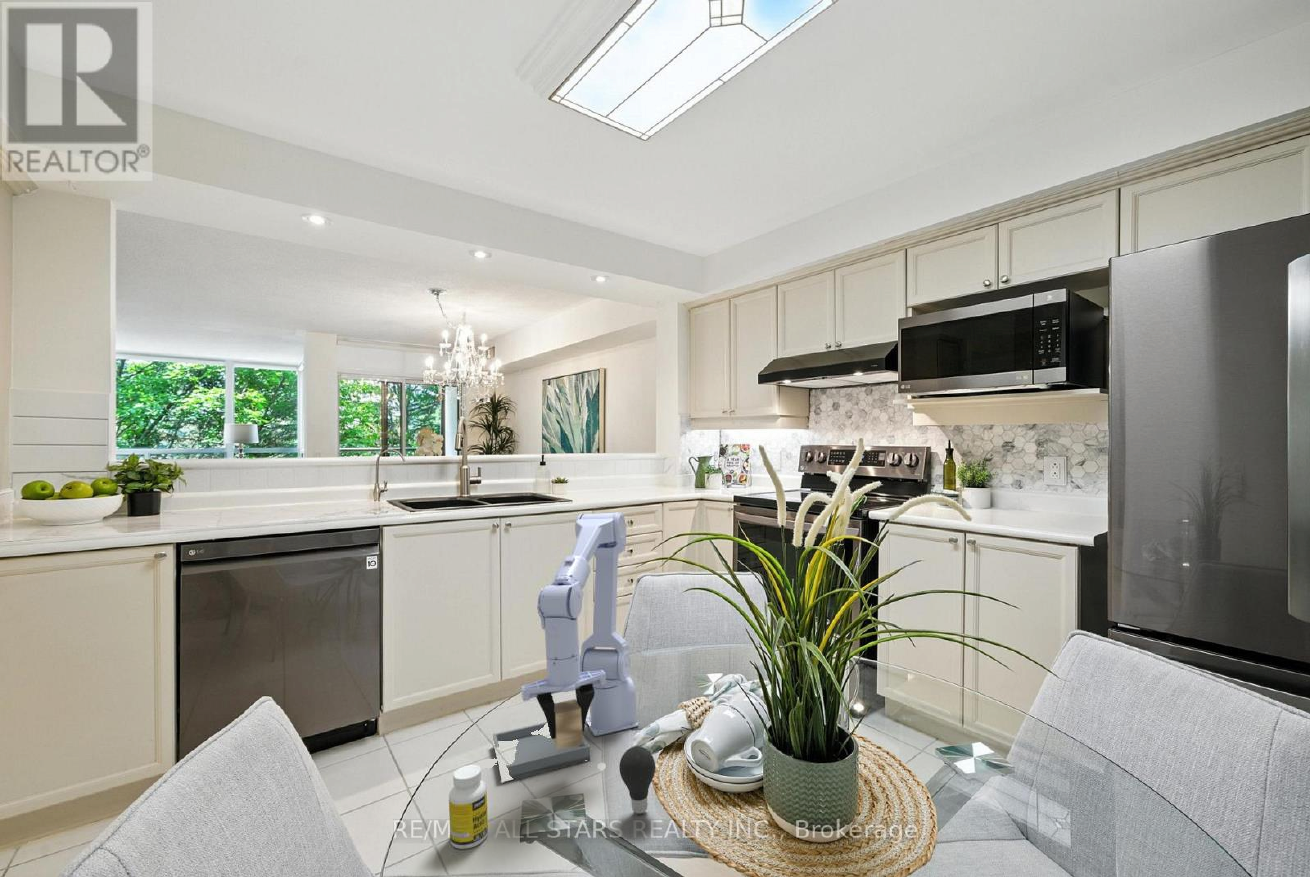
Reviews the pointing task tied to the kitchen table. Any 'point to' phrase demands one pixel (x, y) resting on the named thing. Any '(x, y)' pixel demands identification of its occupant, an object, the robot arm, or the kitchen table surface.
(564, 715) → the oak block
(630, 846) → the kitchen table surface
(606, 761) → the kitchen table surface
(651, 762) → the light bulb
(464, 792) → the supplement bottle
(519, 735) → the tray
